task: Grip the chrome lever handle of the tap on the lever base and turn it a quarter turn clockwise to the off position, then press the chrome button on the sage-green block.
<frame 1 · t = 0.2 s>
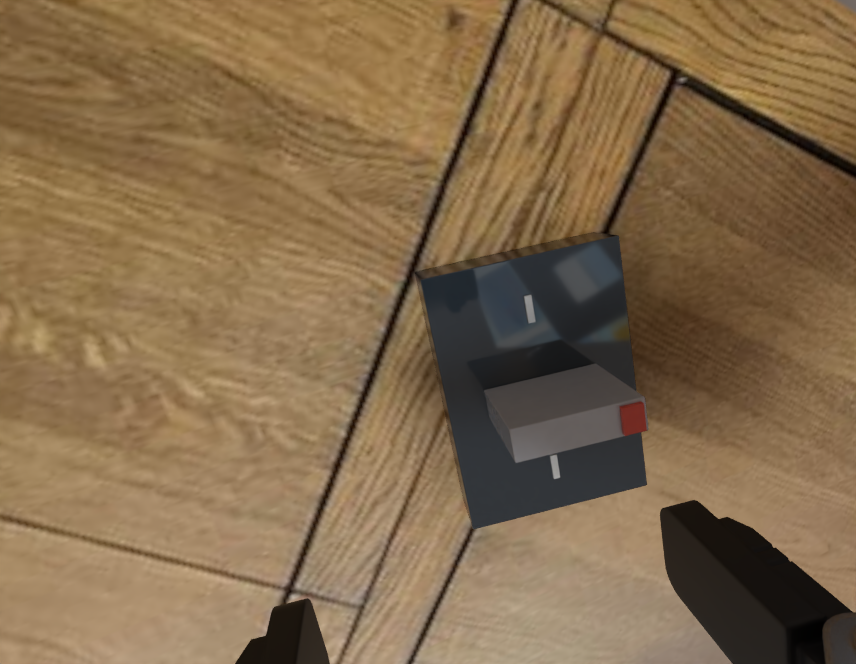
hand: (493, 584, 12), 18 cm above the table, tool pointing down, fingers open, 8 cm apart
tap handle: (560, 409, 25), point 6 cm above the table, hinge at 90.0°
lever base: (525, 372, 30), on the table
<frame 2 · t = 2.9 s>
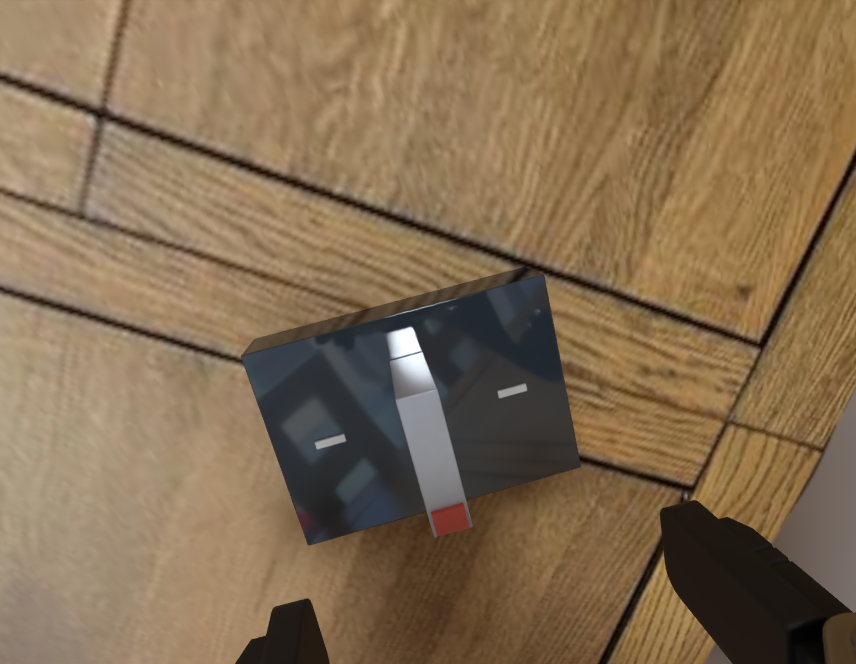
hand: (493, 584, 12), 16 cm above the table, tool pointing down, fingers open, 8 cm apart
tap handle: (428, 439, 22), point 6 cm above the table, hinge at 90.0°
lever base: (415, 393, 28), on the table
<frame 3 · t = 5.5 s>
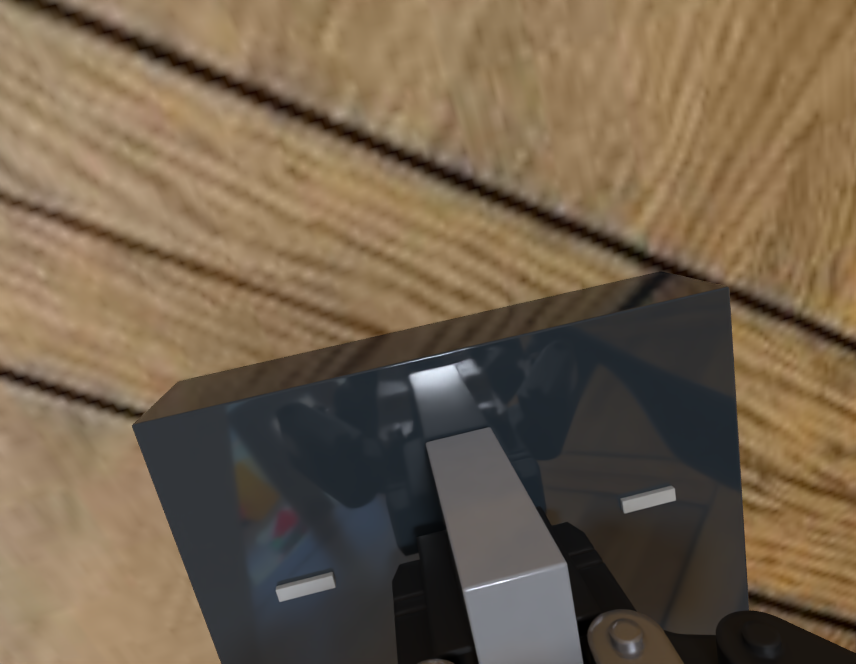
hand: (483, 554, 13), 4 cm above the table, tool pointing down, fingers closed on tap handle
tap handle: (507, 620, 11), point 6 cm above the table, hinge at 90.0°, touching gripper
lever base: (459, 480, 16), on the table
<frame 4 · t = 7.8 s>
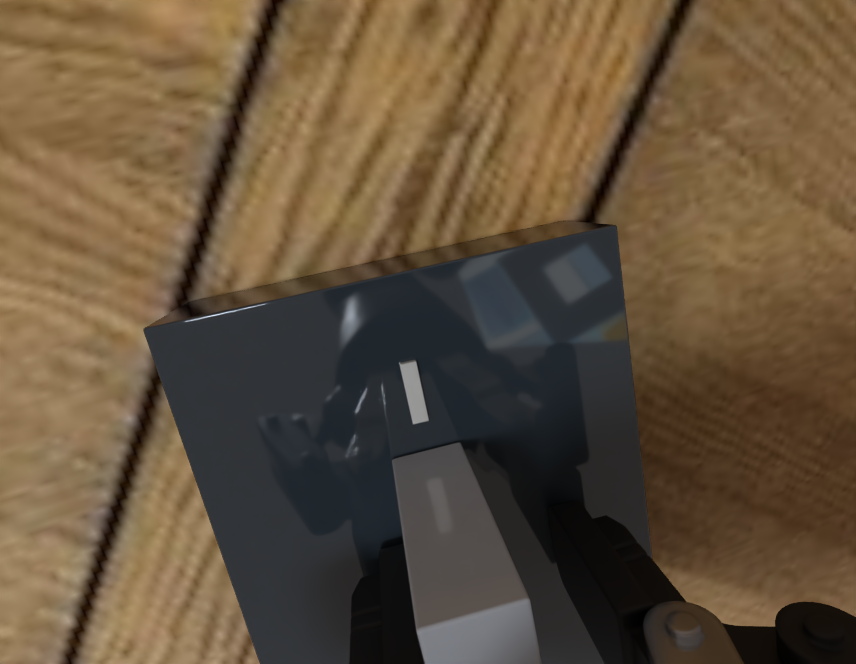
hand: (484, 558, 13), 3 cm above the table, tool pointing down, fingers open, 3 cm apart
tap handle: (475, 650, 10), point 6 cm above the table, hinge at 0.4°
lever base: (433, 494, 16), on the table
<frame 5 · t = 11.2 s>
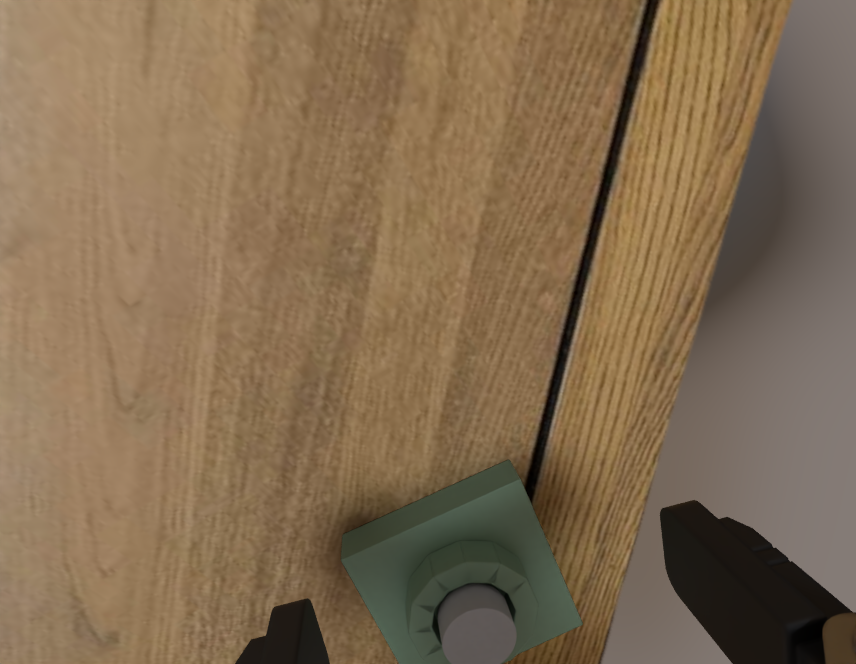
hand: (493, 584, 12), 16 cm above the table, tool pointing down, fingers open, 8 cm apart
button: (476, 626, 26), point 4 cm above the table, slide at 0.1 cm
button block: (460, 566, 30), on the table
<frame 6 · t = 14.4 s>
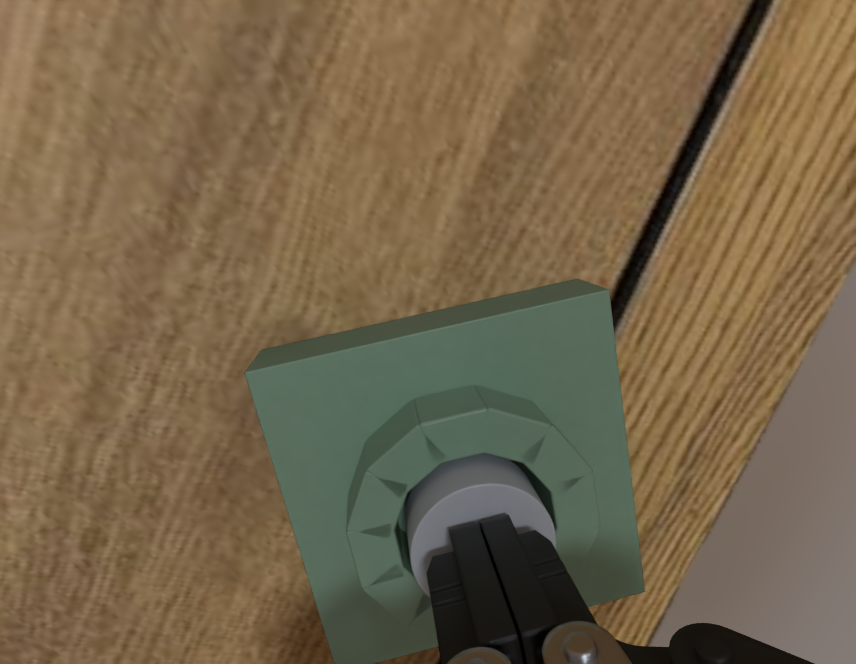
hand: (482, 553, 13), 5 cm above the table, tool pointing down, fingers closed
button: (477, 530, 14), point 4 cm above the table, slide at -0.4 cm, touching gripper
button block: (452, 458, 18), on the table
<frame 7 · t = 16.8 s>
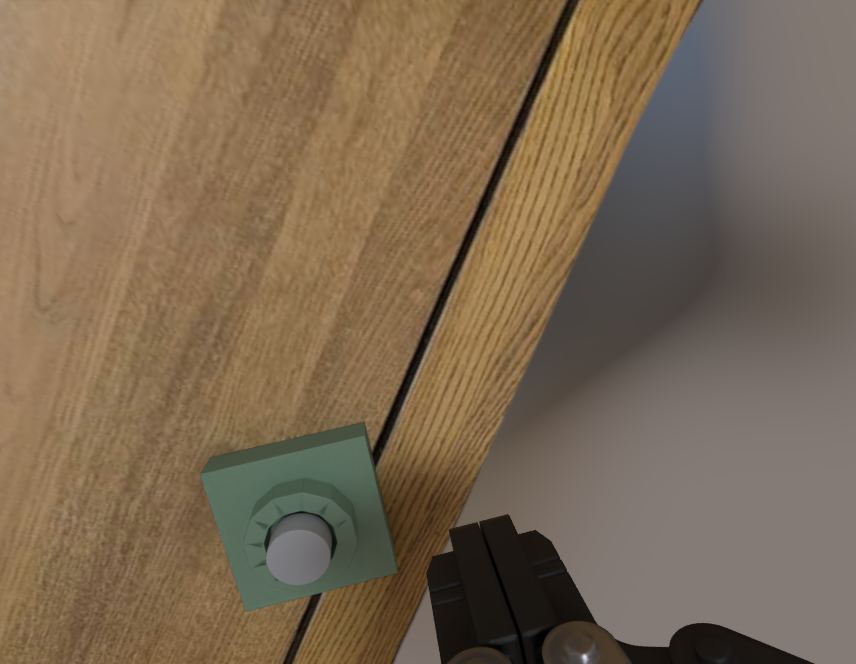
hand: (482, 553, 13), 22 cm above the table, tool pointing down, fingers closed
button: (300, 548, 31), point 4 cm above the table, slide at 0.1 cm
button block: (306, 507, 36), on the table
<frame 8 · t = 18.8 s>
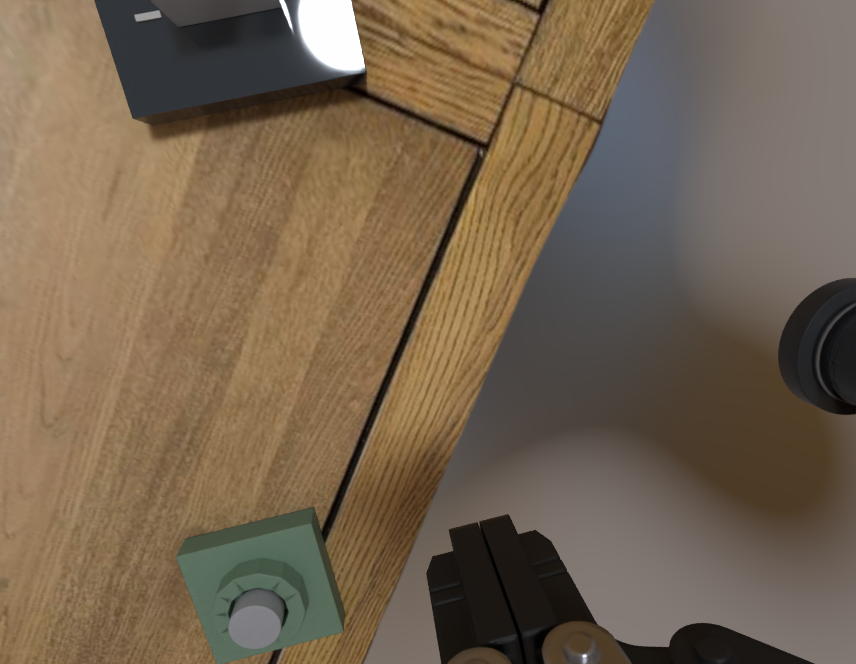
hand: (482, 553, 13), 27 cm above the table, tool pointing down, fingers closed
button: (257, 618, 38), point 4 cm above the table, slide at 0.1 cm
lever base: (238, 20, 33), on the table
button block: (268, 576, 43), on the table
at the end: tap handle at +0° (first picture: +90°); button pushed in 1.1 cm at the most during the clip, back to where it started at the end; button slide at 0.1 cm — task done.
